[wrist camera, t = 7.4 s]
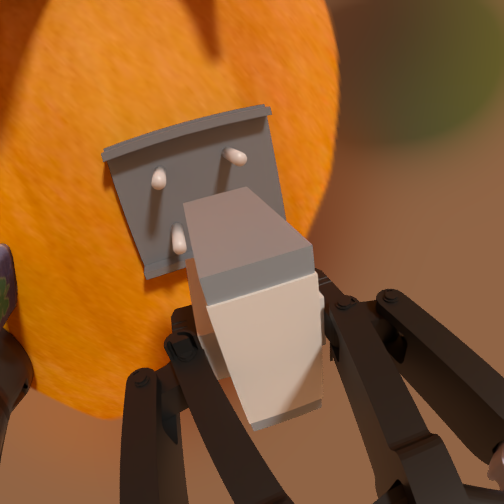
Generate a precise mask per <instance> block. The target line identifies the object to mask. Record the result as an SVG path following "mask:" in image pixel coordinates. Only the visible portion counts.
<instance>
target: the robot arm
mask: <svg viewBox="0 0 504 504" xmlns="http://www.w3.org/2000/svg"><path fill="white" fill-rule="evenodd" d="M185 263H186V270H187V276H188V283H189V289H190V295H191V302H192V305H189V306H185V307H182V308H178V309H175V310H174V312H173V314H172V316H171V322H172V334H170V335H169V336H168V337H167V338H166V340H165V342H164V348H165V350H166V352H167V354H168V356H169V358H170V360H171V361H170V362H169V363H168V364H167V365H166V366H164V367H163V368H161V369H159V370H157V371H155V372H154V371H153V369H150V368H140V369H137V370H135V371H134V372H133V373H131V374H130V376H129V377H128V379H127V382H126V390H125V400H124V410H123V424H122V437H121V458H120V504H189V503H188V495H187V487H186V478H185V469H184V460H183V449H182V438H181V425H180V412H181V411H183V410H185V409H187V408H189V409H190V411H191V413H192V416H193V418H194V421H195V423H196V425H197V428H198V430H199V432H200V434H201V437H202V439H203V441H204V443H205V445H206V448H207V450H208V452H209V454H210V456H211V458H212V460H213V462H214V465H215V467H216V468H217V471H218V472H219V475H220V477H221V479H222V481H223V483H224V484H225V486H226V488H227V490H228V492H229V494H230V496H231V497H232V499H233V501H234V503H235V504H294V502H293V501H292V500H291V499H290V498H289V496H288V495H287V494H286V493H285V492H284V490H283V489H282V487H281V486H280V484H279V483H278V481H277V480H276V478H275V476H274V475H273V474H272V472H271V470H270V469H269V467H268V466H267V464H266V463H265V461H264V459H263V458H262V456H261V455H260V453H259V451H258V450H257V448H256V447H255V445H254V443H253V442H252V440H251V438H250V437H249V435H248V434H247V432H246V430H245V428H244V426H243V425H242V423H241V421H240V420H239V418H238V416H237V414H236V413H235V411H234V409H233V407H232V406H231V404H230V402H229V400H228V398H227V397H226V395H225V393H224V391H223V389H222V387H221V386H220V384H219V382H218V380H220V379H223V378H227V377H230V376H231V375H230V373H229V370H228V367H227V365H226V362H225V359H224V357H223V354H222V351H221V348H220V346H219V343H218V340H217V337H216V334H215V331H214V329H213V326H212V323H211V320H210V317H209V314H208V311H207V308H206V304H205V300H204V296H203V292H202V287H201V284H200V281H199V277H198V273H197V268H196V264H195V259H194V258H190V259H187V260H185ZM315 271H316V273H317V274H318V285H319V300H320V317H321V337H322V345H325V344H326V339H325V335H326V337H327V338H328V340H329V341H330V361H332V360H333V358H334V361H335V364H336V366H337V369H338V372H339V374H340V377H341V380H342V383H343V385H344V388H345V391H346V393H347V396H348V399H349V402H350V404H351V407H352V410H353V413H354V416H355V418H356V421H357V424H358V427H359V430H360V433H361V435H362V438H363V441H364V444H365V447H366V450H367V453H368V456H369V459H370V462H371V465H372V468H373V471H374V475H375V486H376V492H377V496H378V500H377V501H375V502H374V503H373V504H504V378H503V377H502V376H501V375H500V374H499V373H498V372H497V371H495V370H494V369H493V368H492V367H491V366H490V365H489V364H487V362H485V361H484V360H483V359H482V358H481V357H480V356H478V355H477V354H476V353H475V352H474V351H473V350H472V349H470V348H469V347H468V346H467V345H466V344H465V343H463V342H462V341H461V340H460V339H459V338H458V337H456V336H455V335H454V334H453V333H452V332H450V331H449V330H448V329H447V328H446V327H444V326H443V325H442V324H441V323H439V322H438V321H437V320H436V319H434V318H433V317H432V316H431V315H429V314H428V313H427V312H426V311H425V310H423V309H422V308H421V307H420V306H418V305H417V304H416V303H415V302H413V301H412V300H411V299H410V298H408V297H407V296H406V295H404V294H403V293H402V292H400V291H398V290H395V289H385V290H382V291H381V292H379V293H378V294H377V296H376V300H374V301H367V302H359V301H358V300H357V299H356V298H354V297H352V296H348V295H344V294H343V293H342V292H341V291H340V290H339V289H338V288H337V287H336V286H335V284H334V283H333V282H331V280H330V279H329V278H328V277H327V276H326V275H325V274H324V273H323V272H322V271H321V270H319V269H316V268H315ZM400 374H401V375H402V376H403V377H404V378H405V379H406V380H407V382H408V383H409V384H410V385H411V386H412V387H413V388H414V389H415V390H416V391H417V392H418V393H419V394H420V396H422V398H423V399H424V400H425V401H426V402H427V403H428V404H429V406H430V407H431V408H432V409H433V410H434V411H435V412H436V413H437V414H438V415H439V417H440V418H441V419H442V420H443V421H444V422H445V423H446V424H447V425H448V427H449V428H450V429H451V430H452V431H453V432H454V433H455V434H456V435H457V437H458V438H459V439H460V440H461V441H462V442H463V443H464V445H465V446H466V447H467V448H468V449H469V450H470V451H471V452H472V453H473V454H474V455H475V456H477V457H478V458H479V459H480V460H481V461H483V462H484V463H486V464H488V465H489V470H488V473H487V474H488V478H489V479H490V480H492V481H493V480H495V481H496V482H497V483H498V484H499V487H500V490H493V489H487V488H482V487H476V486H471V485H466V484H462V482H461V479H460V477H459V475H458V473H457V470H456V468H455V466H454V464H453V461H452V459H451V457H450V455H449V453H448V451H447V449H446V446H445V444H444V442H443V441H442V439H441V438H440V436H438V435H437V434H432V433H430V432H429V430H428V429H427V427H426V425H425V423H424V420H423V418H422V417H421V414H420V413H419V410H418V408H417V406H416V404H415V402H414V400H413V399H412V396H411V395H410V393H409V391H408V389H407V387H406V385H405V383H404V381H403V379H402V377H401V375H400ZM32 378H33V368H32V364H31V362H30V359H29V357H28V355H27V354H26V352H25V350H24V349H23V347H22V346H21V345H20V344H19V342H18V341H17V340H16V339H15V338H14V337H13V336H12V335H11V334H10V333H9V332H8V331H6V330H5V329H4V328H3V327H2V329H1V331H0V461H1V455H2V450H3V444H4V439H5V434H6V430H7V425H8V420H9V417H10V414H11V412H12V411H13V410H14V409H15V407H16V406H17V405H18V404H19V402H20V401H21V400H22V399H23V397H24V396H25V395H26V394H27V392H28V390H29V388H30V385H31V382H32Z"/></svg>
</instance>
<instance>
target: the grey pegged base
mask: <svg viewBox="0 0 504 504" xmlns="http://www.w3.org/2000/svg"><path fill="white" fill-rule="evenodd" d="M267 115H272V113H271V108H270V107H265V105H264V104H262V105H256V106H251V107H246V108H241V109H237V110H232V111H227V112H223V113H219V114H214V115H210V116H206V117H202V118H198V119H195V120H191V121H187V122H184V123H180V124H176V125H173V126H170V127H166V128H163V129H160V130H156V131H153V132H150V133H147V134H144V135H141V136H138V137H135V138H132V139H129V140H126V141H123V142H121V143H118V144H115V145H112V146H110V147H107V148H105V149H104V152H103V153H101V156H102V159H103V162H105V161H107V163H108V166H109V169H110V172H111V176H112V179H113V182H114V185H115V188H116V191H117V194H118V197H119V200H120V203H121V205H122V208H123V211H124V214H125V217H126V219H127V222H128V225H129V228H130V230H131V233H132V236H133V238H134V241H135V243H136V246H137V248H138V251H139V254H140V256H141V259H142V261H143V263H144V266H145V268H144V274H145V277H146V279H147V280H148V279H151V278H154V277H157V276H161V275H164V274H167V273H170V272H173V271H176V270H179V269H183V268H186V263H185V260H187V259H190V258H194V255H193V250H192V246H191V241H190V236H189V231H188V226H187V222H186V217H185V212H184V206H183V203H186V202H190V201H194V200H197V199H201V198H204V197H208V196H212V195H216V194H219V193H223V192H227V191H231V190H235V189H239V188H243V187H248V188H249V189H250V190H251V191H253V192H254V193H255V194H256V195H257V196H258V197H259V198H261V199H262V200H263V201H264V202H265V203H266V204H267V205H269V206H270V207H271V208H272V209H273V210H274V211H275V212H276V213H278V214H279V215H280V216H281V217H282V218H283V219H284V220H285V221H286V217H285V211H284V205H283V199H282V194H281V188H280V183H279V177H278V172H277V166H276V161H275V156H274V150H273V145H272V140H271V135H270V130H269V125H268V120H267Z"/></svg>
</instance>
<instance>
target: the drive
mask: <svg viewBox="0 0 504 504" xmlns="http://www.w3.org/2000/svg"><path fill="white" fill-rule="evenodd" d="M183 206H184V212H185V217H186V222H187V226H188V231H189V236H190V241H191V246H192V250H193V255H194V259H195V264H196V268H197V273H198V277H199V281H200V284H201V287H202V292H203V296H204V300H205V304H206V308H207V311H208V314H209V317H210V320H211V323H212V326H213V329H214V331H215V334H216V337H217V340H218V343H219V346H220V348H221V351H222V354H223V357H224V359H225V362H226V365H227V367H228V370H229V373H230V375H231V378H232V381H233V383H234V386H235V389H236V391H237V394H238V396H239V399H240V401H241V404H242V406H243V409H244V411H245V414H246V416H247V419H248V421H249V424H251V426H252V428H253V431H257V430H260V429H263V428H266V427H269V426H272V425H275V424H278V423H281V422H284V421H287V420H290V419H292V418H295V417H298V416H300V415H303V414H305V413H308V412H311V411H313V410H316V409H318V408H321V398H323V369H322V368H323V365H322V337H321V317H320V300H319V285H318V274H317V273H316V271H315V268H314V257H313V246H312V244H311V243H310V242H309V241H307V240H306V239H305V238H304V237H303V236H302V235H301V234H300V233H299V232H298V231H296V230H295V229H294V228H293V227H292V226H291V225H290V224H289V223H288V222H286V221H285V220H284V219H283V218H282V217H281V216H280V215H279V214H278V213H276V212H275V211H274V210H273V209H272V208H271V207H270V206H269V205H267V204H266V203H265V202H264V201H263V200H262V199H261V198H259V197H258V196H257V195H256V194H255V193H254V192H253V191H251V190H250V189H249V188H248V187H243V188H239V189H235V190H231V191H227V192H223V193H219V194H216V195H212V196H208V197H204V198H201V199H197V200H194V201H190V202H186V203H183Z"/></svg>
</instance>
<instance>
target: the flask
mask: <svg viewBox="0 0 504 504" xmlns="http://www.w3.org/2000/svg"><path fill="white" fill-rule="evenodd" d="M4 245H5V246H4ZM4 245H3V244H0V331H1V329H2V327H3V326H4V324H5V323H6V321H7V319H8V317H9V316H10V314H11V312H12V311H13V310H14V308H15V307H16V303H17V282H16V278H15V276H16V275H15V268H14V262H13V256H12V254H11V250H10V249H9V247H8V246H7V245H6V244H4Z"/></svg>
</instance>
